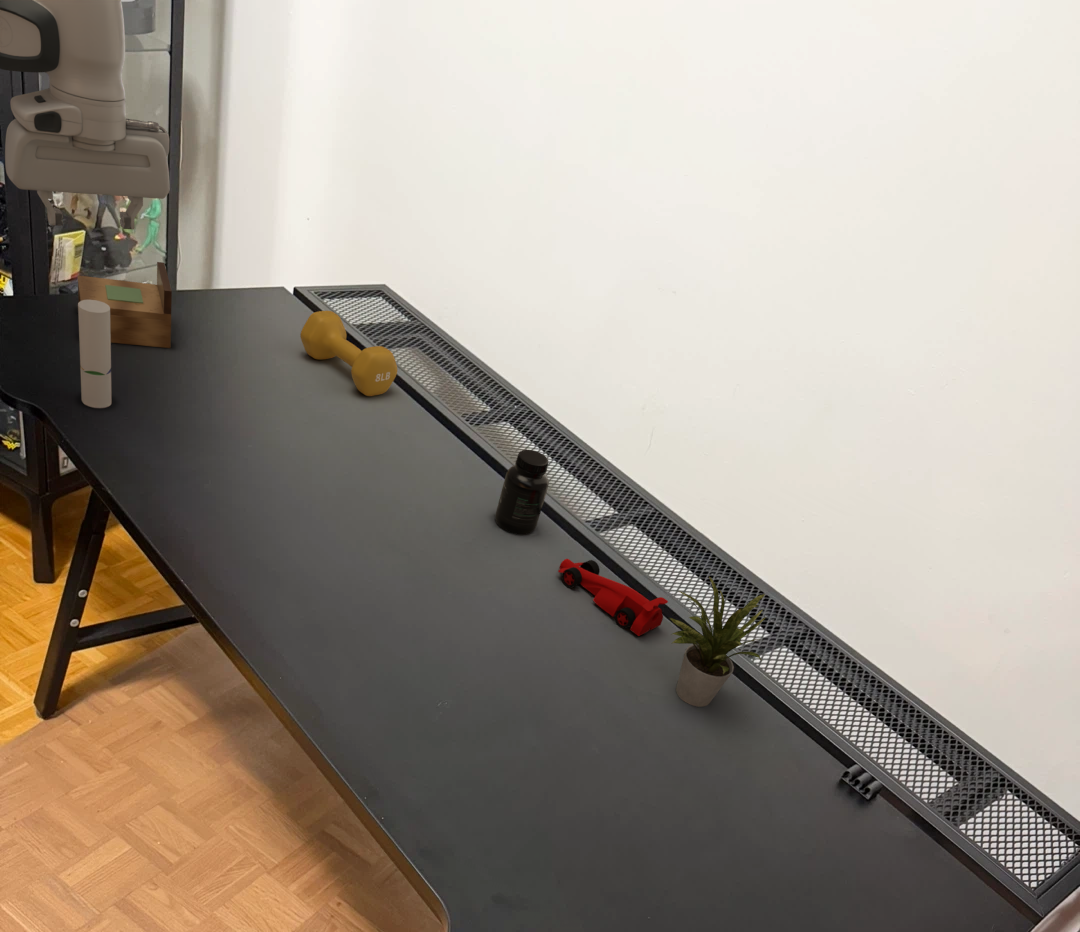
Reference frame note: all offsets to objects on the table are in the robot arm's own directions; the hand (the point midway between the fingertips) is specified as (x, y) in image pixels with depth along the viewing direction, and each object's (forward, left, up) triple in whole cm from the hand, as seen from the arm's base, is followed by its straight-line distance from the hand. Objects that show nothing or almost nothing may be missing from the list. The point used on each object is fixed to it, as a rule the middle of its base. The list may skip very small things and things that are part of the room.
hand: (92, 226), depth 139 cm
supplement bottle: (+60, -30, -27) cm, 72 cm away
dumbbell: (+43, +18, -27) cm, 54 cm away
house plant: (+73, -70, -27) cm, 105 cm away
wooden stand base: (+6, +28, -27) cm, 40 cm away
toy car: (+68, -50, -27) cm, 88 cm away
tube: (0, +1, -27) cm, 27 cm away
